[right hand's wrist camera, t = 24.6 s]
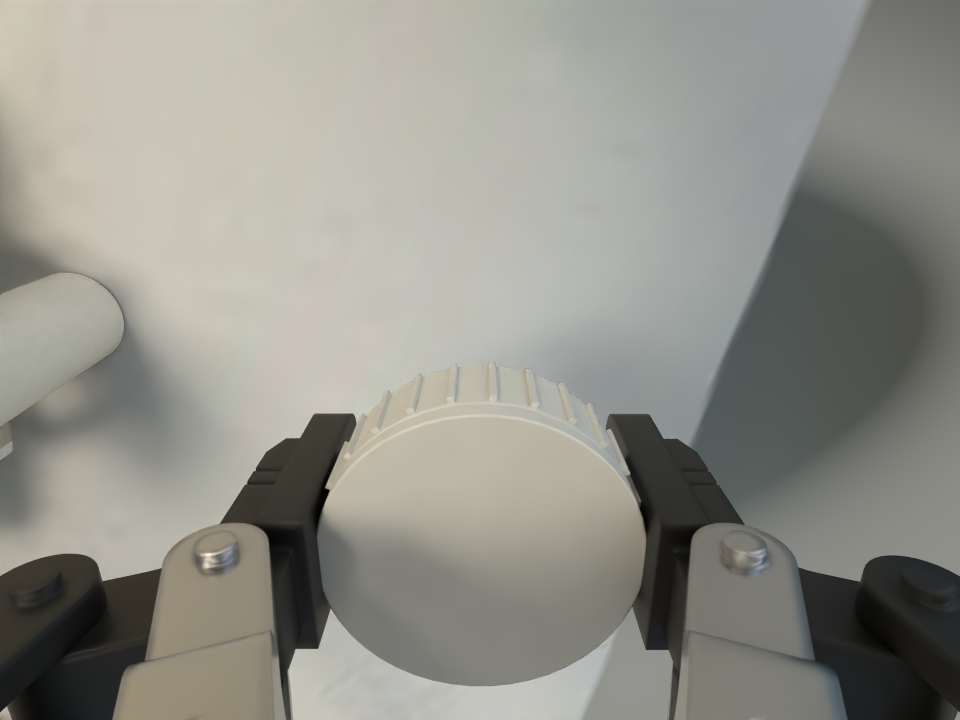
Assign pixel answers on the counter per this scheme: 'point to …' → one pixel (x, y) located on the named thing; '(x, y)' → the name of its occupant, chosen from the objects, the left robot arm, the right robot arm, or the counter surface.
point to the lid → (481, 528)
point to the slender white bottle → (52, 336)
